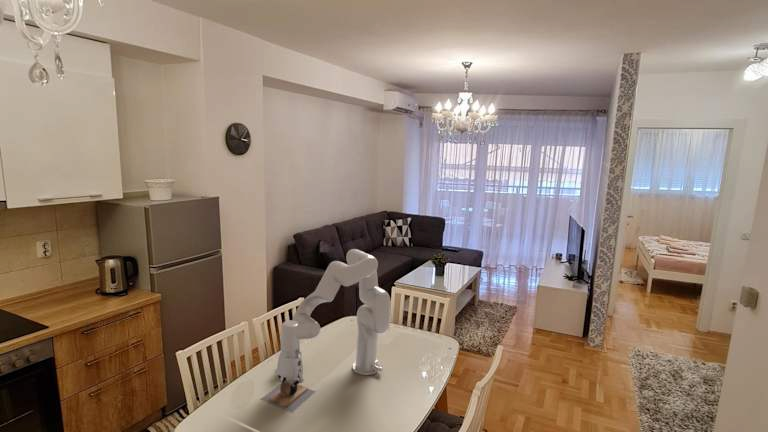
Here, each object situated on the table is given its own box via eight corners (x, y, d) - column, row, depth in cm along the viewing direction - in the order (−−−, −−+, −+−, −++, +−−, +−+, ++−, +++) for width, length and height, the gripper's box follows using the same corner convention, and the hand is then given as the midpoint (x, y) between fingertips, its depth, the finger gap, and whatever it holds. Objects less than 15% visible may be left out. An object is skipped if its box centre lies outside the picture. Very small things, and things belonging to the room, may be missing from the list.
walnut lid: (307, 390, 173) (308, 377, 172) (286, 408, 161) (286, 394, 160) (290, 383, 177) (291, 370, 176) (268, 400, 165) (269, 387, 164)
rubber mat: (315, 392, 173) (315, 391, 173) (291, 413, 159) (292, 412, 159) (285, 381, 180) (285, 380, 179) (260, 400, 165) (260, 399, 165)
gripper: (312, 352, 165) (310, 393, 169) (279, 342, 172) (278, 381, 176) (301, 361, 159) (299, 403, 162) (267, 349, 166) (266, 390, 169)
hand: (288, 391), depth 169 cm, fingers closed on walnut lid, 4 cm apart
